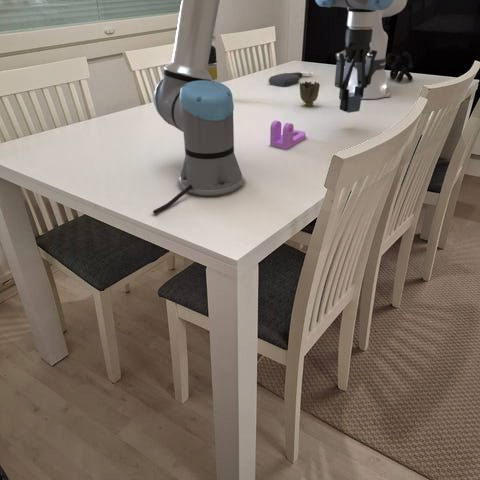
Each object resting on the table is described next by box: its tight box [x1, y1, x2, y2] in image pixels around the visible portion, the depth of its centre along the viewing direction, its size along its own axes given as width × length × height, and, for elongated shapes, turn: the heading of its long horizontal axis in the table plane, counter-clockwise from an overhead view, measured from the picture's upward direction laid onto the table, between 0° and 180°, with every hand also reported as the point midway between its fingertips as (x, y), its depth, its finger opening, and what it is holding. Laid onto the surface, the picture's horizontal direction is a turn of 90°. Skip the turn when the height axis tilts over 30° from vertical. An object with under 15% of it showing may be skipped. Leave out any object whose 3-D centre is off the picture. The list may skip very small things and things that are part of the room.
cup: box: [299, 81, 321, 107], centre depth 165 cm, size 8×7×8 cm
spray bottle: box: [268, 70, 315, 87], centre depth 203 cm, size 3×11×24 cm
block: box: [344, 92, 362, 114], centre depth 139 cm, size 4×4×5 cm
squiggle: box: [385, 51, 414, 83], centre depth 198 cm, size 11×10×15 cm
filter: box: [207, 44, 218, 82], centre depth 171 cm, size 6×6×30 cm
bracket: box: [269, 119, 306, 150], centre depth 133 cm, size 13×6×7 cm, turn 143°
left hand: (349, 109), depth 141 cm, fingers closed on block, 4 cm apart
